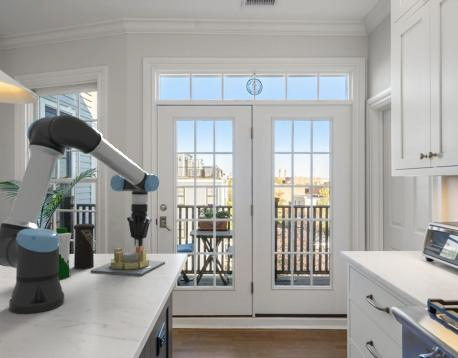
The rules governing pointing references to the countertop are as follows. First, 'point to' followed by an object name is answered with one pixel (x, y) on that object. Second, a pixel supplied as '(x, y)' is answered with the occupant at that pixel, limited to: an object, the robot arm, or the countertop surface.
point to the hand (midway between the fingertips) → (138, 252)
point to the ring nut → (119, 264)
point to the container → (84, 246)
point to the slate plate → (134, 272)
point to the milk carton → (63, 252)
